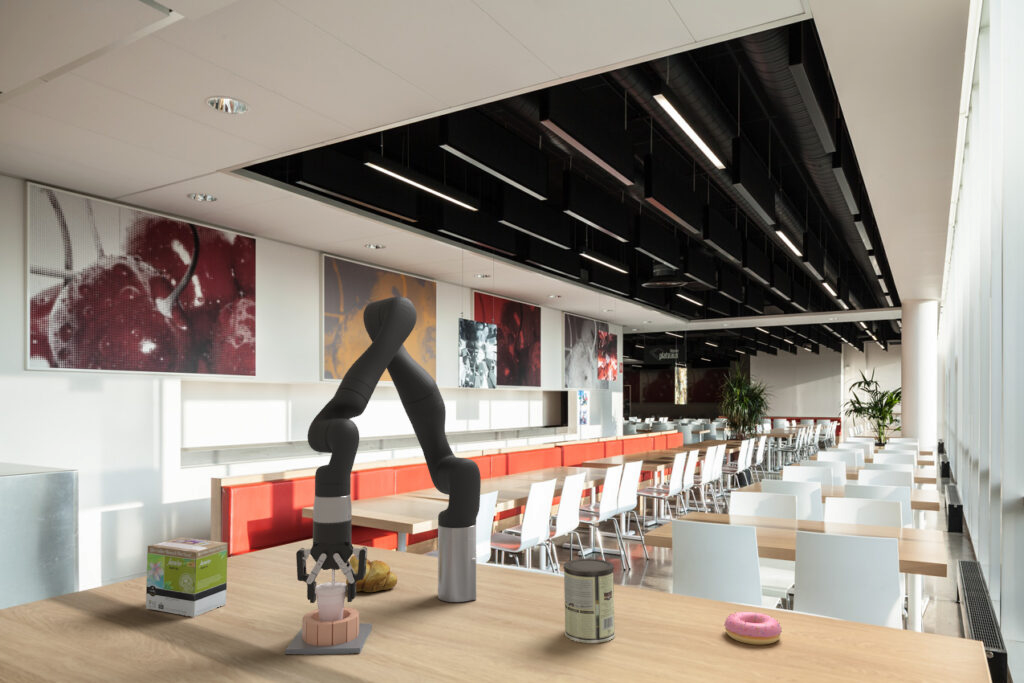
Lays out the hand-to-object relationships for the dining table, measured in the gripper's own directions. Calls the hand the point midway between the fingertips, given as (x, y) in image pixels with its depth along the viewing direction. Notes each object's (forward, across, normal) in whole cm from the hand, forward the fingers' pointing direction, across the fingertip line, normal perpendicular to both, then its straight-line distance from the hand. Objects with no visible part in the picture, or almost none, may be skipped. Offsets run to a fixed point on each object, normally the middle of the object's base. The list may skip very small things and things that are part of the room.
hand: (331, 601), depth 141 cm
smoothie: (+7, 0, 0) cm, 7 cm away
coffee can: (+8, -52, -1) cm, 53 cm away
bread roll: (+8, -2, -36) cm, 36 cm away
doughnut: (+8, -85, +2) cm, 85 cm away
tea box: (+8, +38, -23) cm, 45 cm away
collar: (+8, 0, 0) cm, 8 cm away
